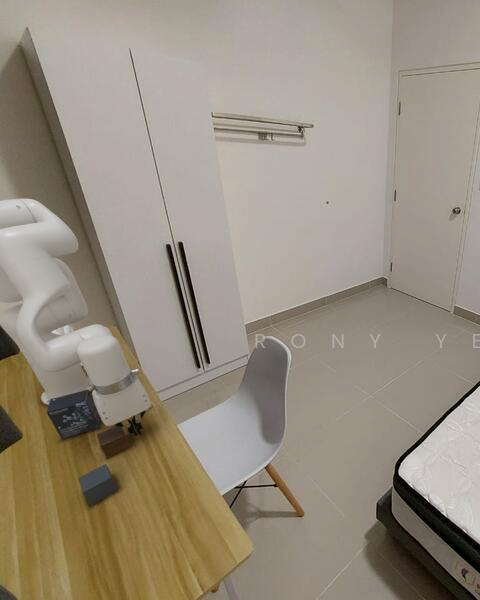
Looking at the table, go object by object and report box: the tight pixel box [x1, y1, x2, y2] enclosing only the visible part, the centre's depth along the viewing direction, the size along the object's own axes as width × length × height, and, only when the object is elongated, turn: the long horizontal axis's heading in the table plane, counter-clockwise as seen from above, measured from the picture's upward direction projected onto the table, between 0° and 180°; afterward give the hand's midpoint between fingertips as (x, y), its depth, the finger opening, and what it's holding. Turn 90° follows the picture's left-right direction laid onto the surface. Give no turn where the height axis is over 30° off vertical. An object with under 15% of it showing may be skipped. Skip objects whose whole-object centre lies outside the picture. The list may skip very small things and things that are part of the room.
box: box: [45, 389, 102, 440], centre depth 90 cm, size 8×6×11 cm
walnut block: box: [96, 426, 131, 459], centre depth 87 cm, size 5×5×5 cm
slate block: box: [78, 463, 119, 506], centre depth 76 cm, size 5×5×5 cm
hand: (137, 432), depth 90 cm, fingers closed
